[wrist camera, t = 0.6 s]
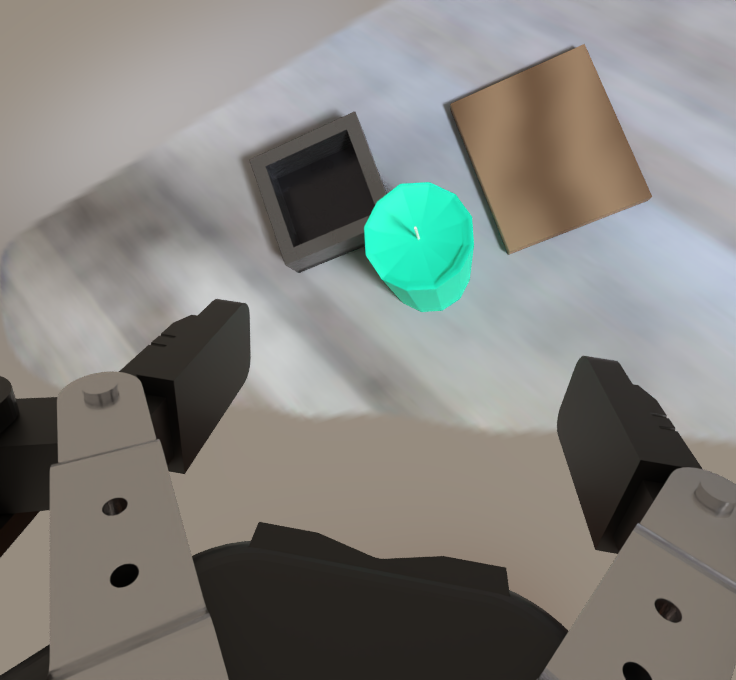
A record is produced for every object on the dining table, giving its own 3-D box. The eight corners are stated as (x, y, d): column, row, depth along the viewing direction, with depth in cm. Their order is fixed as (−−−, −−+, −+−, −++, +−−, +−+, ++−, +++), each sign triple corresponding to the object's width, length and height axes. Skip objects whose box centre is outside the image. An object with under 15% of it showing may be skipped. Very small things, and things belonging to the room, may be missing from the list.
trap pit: (363, 131, 38) (355, 111, 35) (400, 231, 37) (395, 219, 34) (265, 175, 39) (249, 159, 36) (298, 272, 38) (285, 265, 35)
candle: (379, 249, 37) (342, 195, 25) (455, 222, 36) (453, 151, 24) (404, 323, 36) (377, 303, 24) (481, 297, 35) (492, 262, 23)
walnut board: (581, 51, 35) (584, 43, 34) (647, 200, 33) (652, 196, 33) (450, 109, 36) (450, 103, 36) (508, 254, 35) (509, 252, 34)
